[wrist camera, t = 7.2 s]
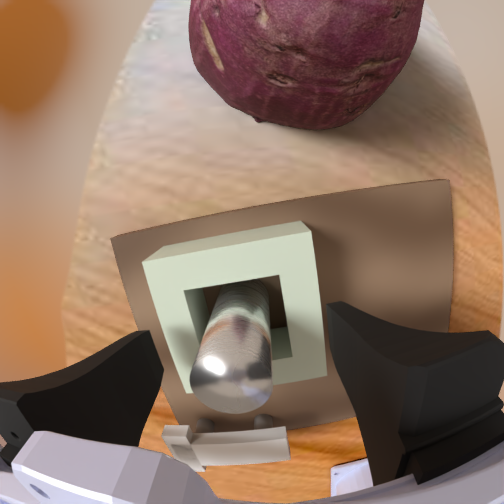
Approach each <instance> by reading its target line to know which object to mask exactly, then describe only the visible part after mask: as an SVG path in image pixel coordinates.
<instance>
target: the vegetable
mask: <svg viewBox="0 0 504 504" xmlns="http://www.w3.org/2000/svg"><path fill="white" fill-rule="evenodd" d="M423 4H424V0H191V5H190V14H189V41H190V49H191V53H192V57H193V61H194V64H195V66H196V68H197V70H198V72H199V73H200V74H201V76H202V77H203V78H204V79H205V80H206V82H207V83H208V84H209V85H210V86H211V87H212V88H213V90H215V91H216V92H217V93H218V94H219V95H220V97H221V98H222V99H223V100H224V101H225V102H226V103H227V104H228V105H230V106H231V107H233V108H236V109H238V110H241V111H243V112H244V113H246V114H248V115H251V116H252V118H254V119H255V121H256V122H261V121H268V122H271V123H277V124H279V125H285V126H289V127H296V128H304V129H311V130H318V129H328V128H334V127H339V126H342V125H344V124H347V123H348V122H350V121H352V120H354V119H355V118H357V117H358V116H359V115H361V114H362V113H363V112H364V111H365V110H367V109H368V108H369V107H370V106H371V105H372V104H373V103H374V102H375V101H376V100H377V99H378V98H379V97H380V96H381V95H382V94H383V93H384V91H385V90H386V89H387V88H388V86H389V85H390V84H391V83H392V81H393V80H394V79H395V78H396V76H397V75H398V74H399V73H400V71H401V70H402V68H403V67H404V65H405V64H406V62H407V60H408V58H409V56H410V54H411V51H412V49H413V47H414V45H415V43H416V40H417V35H418V31H419V28H420V22H421V16H422V9H423Z"/></svg>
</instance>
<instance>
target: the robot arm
mask: <svg viewBox="0 0 504 504" xmlns="http://www.w3.org/2000/svg"><path fill="white" fill-rule="evenodd" d="M326 311H327V322H328V333H329V345H330V351H331V354H332V358H333V361H334V365H335V368H336V370H337V372H338V375H339V377H340V379H341V381H342V384H343V386H344V388H345V390H346V393H347V395H348V397H349V399H350V402H351V404H352V406H353V409H354V411H355V414H356V417H357V420H358V424H359V427H360V431H361V435H362V438H363V442H364V446H365V450H366V454H367V458H366V459H362V460H359V461H355V462H351V463H346V464H342V465H338V466H334V467H332V468H331V497H327V498H322V499H316V500H310V501H304V502H296V503H288V504H504V413H503V412H502V411H501V409H502V408H503V406H504V403H503V401H502V400H501V399H500V398H499V397H498V395H499V392H500V389H501V386H502V384H503V381H504V343H503V342H502V341H501V340H500V339H498V338H497V337H496V336H495V335H494V334H492V333H491V332H490V331H489V330H487V331H476V332H465V333H445V332H432V331H425V330H418V329H413V328H408V327H404V326H401V325H397V324H394V323H390V322H388V321H385V320H382V319H380V318H377V317H375V316H372V315H370V314H368V313H366V312H364V311H362V310H360V309H358V308H356V307H354V306H352V305H350V304H347V303H345V302H343V301H338V302H333V303H328V304H326ZM163 373H164V367H163V365H162V362H161V360H160V357H159V355H158V352H157V349H156V347H155V344H154V341H153V339H152V336H151V333H150V330H142V331H136V332H133V333H131V334H129V335H127V336H125V337H123V338H121V339H119V340H118V341H116V342H114V343H112V344H111V345H109V346H107V347H106V348H104V349H102V350H101V351H99V352H97V353H95V354H93V355H91V356H90V357H88V358H86V359H84V360H82V361H80V362H78V363H76V364H74V365H71V366H69V367H66V368H64V369H62V370H59V371H56V372H53V373H49V374H47V375H44V376H40V377H35V378H31V379H26V380H20V381H12V382H2V383H0V434H1V436H2V437H3V438H4V440H5V441H6V442H7V444H6V446H5V447H2V446H1V445H0V504H283V503H261V502H248V501H238V500H230V499H221V498H218V497H217V496H216V495H215V494H214V492H213V491H212V489H211V488H210V486H209V485H208V483H207V482H206V481H205V480H204V479H203V478H202V477H201V476H200V475H199V474H197V473H196V472H195V471H194V470H193V469H192V468H191V467H190V466H189V465H187V464H185V463H183V462H181V461H179V460H177V459H174V458H172V457H170V456H168V455H166V454H164V453H161V452H157V451H152V450H148V449H144V448H140V447H138V446H139V442H140V438H141V434H142V431H143V428H144V426H145V423H146V421H147V418H148V416H149V414H150V411H151V409H152V407H153V404H154V402H155V399H156V397H157V394H158V392H159V389H160V386H161V382H162V378H163Z"/></svg>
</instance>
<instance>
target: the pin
mask: <svg viewBox="0 0 504 504" xmlns="http://www.w3.org/2000/svg"><path fill="white" fill-rule="evenodd" d="M189 381H190V386H191V389H192V391H193V393H194V395H195V396H196V397H197V398H198V399H199V400H200V401H201V402H202V403H203V404H205V405H206V406H208V407H209V408H212V409H214V410H216V411H220V412H223V413H231V414H239V413H246V412H250V411H253V410H255V409H257V408H259V407H261V406H262V405H263V404H264V403H265V402H266V401H267V400H268V399H269V397H270V396H271V393H272V390H273V373H272V351H271V331H270V311H269V295H268V292H267V289H266V287H265V286H264V285H263V284H262V283H261V282H260V281H259V280H258V279H251V280H245V281H239V282H233V283H227V284H223V286H222V287H221V289H220V292H219V294H218V297H217V300H216V303H215V305H214V308H213V311H212V314H211V316H210V319H209V322H208V325H207V328H206V330H205V333H204V336H203V339H202V341H201V344H200V347H199V350H198V353H197V355H196V358H195V361H194V364H193V367H192V370H191V373H190V379H189Z"/></svg>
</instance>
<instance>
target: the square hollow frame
mask: <svg viewBox="0 0 504 504" xmlns="http://www.w3.org/2000/svg"><path fill="white" fill-rule="evenodd" d="M142 264H143V268H144V272H145V275H146V279H147V282H148V286H149V289H150V292H151V296H152V299H153V302H154V305H155V308H156V312H157V315H158V318H159V321H160V324H161V327H162V330H163V333H164V336H165V339H166V341H167V344H168V347H169V350H170V353H171V355H172V358H173V361H174V363H175V366H176V369H177V371H178V374H179V376H180V379H181V381H182V384H183V386H184V389H185V391H186V393H193V391H192V389H191V386H190V381H189V379H190V373H191V370H192V367H193V364H194V361H195V358H196V355H197V353H198V350H199V347H200V344H201V341H202V339H203V336H204V333H205V330H206V328H207V325H208V322H209V319H210V315H209V312H208V308H207V304H206V300H205V296H204V293H203V289H202V287H208V286H214V285H221V284H227V283H233V282H239V281H245V280H251V279H257V278H263V277H268V276H274V275H279V278H280V284H281V290H282V296H283V302H284V308H285V314H286V320H287V327H281V328H275V329H270V331H271V351H272V373H273V385H278V384H284V383H291V382H297V381H302V380H308V379H313V378H318V377H323V376H327V366H326V354H325V342H324V331H323V321H322V312H321V303H320V294H319V285H318V277H317V269H316V262H315V254H314V247H313V240H312V234H311V231H310V230H309V229H308V227H307V226H306V225H305V224H304V223H303V222H302V221H296V222H290V223H285V224H279V225H273V226H268V227H262V228H257V229H251V230H246V231H240V232H235V233H229V234H224V235H219V236H214V237H208V238H203V239H198V240H193V241H188V242H182V243H177V244H172V245H167V246H163V247H162V248H160V249H159V250H158V251H156V252H155V253H153V254H152V255H151V256H149V257H148V258H147V259H145V260H144V261H143V262H142Z"/></svg>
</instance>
